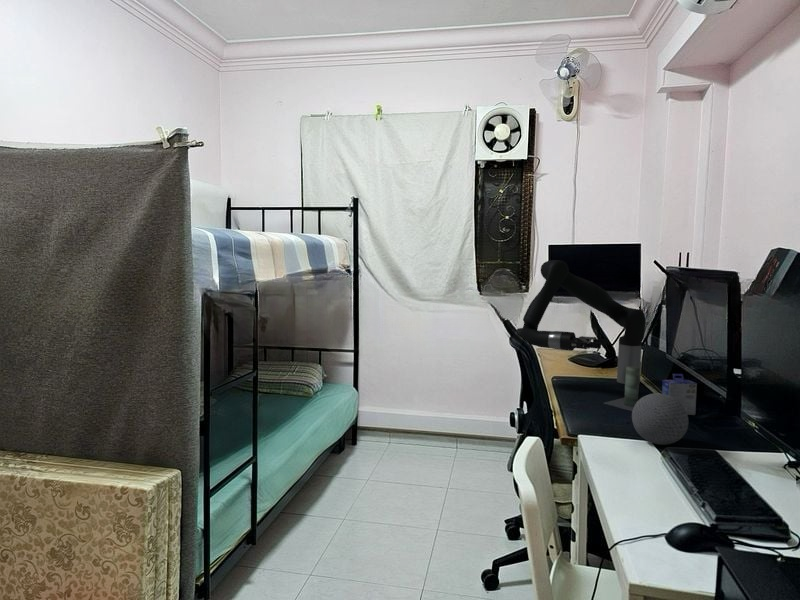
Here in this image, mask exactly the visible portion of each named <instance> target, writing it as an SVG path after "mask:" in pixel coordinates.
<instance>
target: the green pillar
mask: <svg viewBox="0 0 800 600" xmlns="http://www.w3.org/2000/svg"><path fill="white" fill-rule="evenodd" d="M639 374H640V368H639V367H633V366H627V367H626V377H625V384H624V397H623V398H624V405H626V406H631V407H634V406H635V404H636V403H637V401H638V400H639V391H640V389H639V387H640V383H639Z"/></svg>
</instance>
